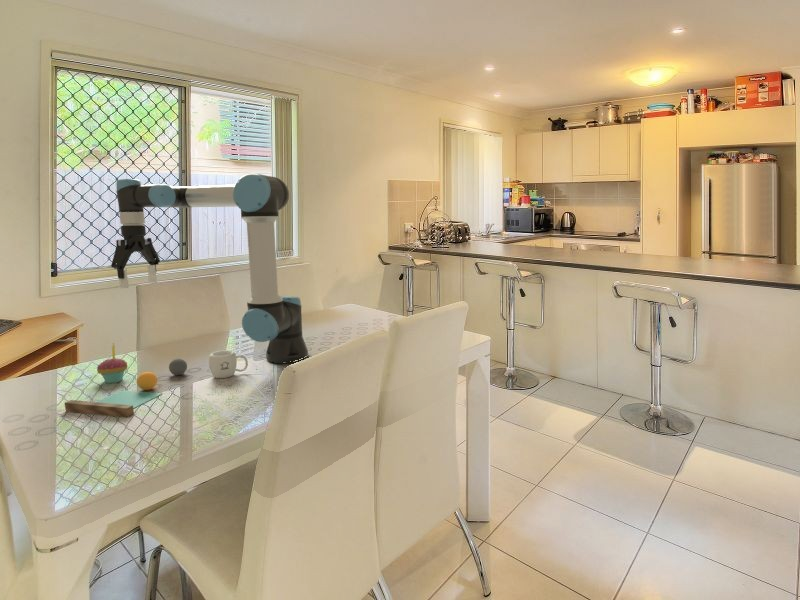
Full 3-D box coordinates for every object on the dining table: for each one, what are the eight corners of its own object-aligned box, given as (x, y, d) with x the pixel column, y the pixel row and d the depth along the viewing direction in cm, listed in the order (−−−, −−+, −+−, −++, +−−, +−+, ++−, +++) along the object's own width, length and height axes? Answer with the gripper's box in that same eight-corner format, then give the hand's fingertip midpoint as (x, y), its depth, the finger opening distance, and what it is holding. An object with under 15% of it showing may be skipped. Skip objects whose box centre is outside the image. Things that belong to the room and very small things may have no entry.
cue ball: (191, 372, 162) (189, 357, 161) (180, 378, 157) (179, 361, 156) (177, 371, 163) (175, 356, 162) (165, 377, 158) (164, 360, 157)
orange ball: (162, 387, 149) (160, 369, 148) (149, 393, 143) (147, 375, 142) (147, 385, 150) (145, 368, 149) (133, 392, 145) (131, 374, 144)
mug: (210, 381, 153) (208, 358, 152) (210, 373, 161) (208, 351, 159) (249, 376, 157) (248, 353, 156) (247, 369, 165) (246, 347, 164)
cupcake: (107, 376, 159) (103, 341, 157) (134, 375, 160) (130, 340, 158) (93, 385, 151) (88, 348, 149) (121, 384, 151) (117, 347, 149)
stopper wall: (133, 414, 128) (132, 405, 128) (128, 417, 126) (127, 408, 126) (72, 408, 132) (71, 399, 132) (65, 411, 131) (64, 402, 130)
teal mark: (162, 394, 143) (162, 393, 143) (125, 412, 129) (125, 412, 129) (122, 390, 146) (122, 390, 146) (82, 408, 132) (82, 408, 132)
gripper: (149, 224, 181) (155, 280, 184) (94, 225, 157) (101, 290, 160) (166, 224, 179) (172, 280, 182) (113, 225, 155) (120, 290, 159)
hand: (139, 285), depth 171 cm, fingers open, 13 cm apart
